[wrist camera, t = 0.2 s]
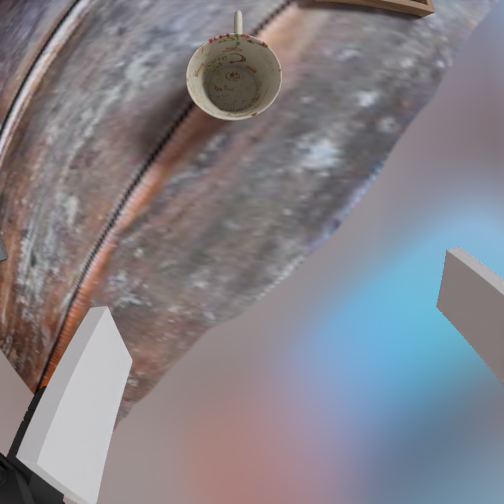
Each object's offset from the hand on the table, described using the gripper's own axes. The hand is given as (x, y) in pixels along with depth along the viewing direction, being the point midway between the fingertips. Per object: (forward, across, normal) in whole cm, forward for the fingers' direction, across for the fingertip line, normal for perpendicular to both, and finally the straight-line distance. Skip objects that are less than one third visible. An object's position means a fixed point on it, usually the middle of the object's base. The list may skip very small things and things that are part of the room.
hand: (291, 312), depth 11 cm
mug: (+28, 0, +13) cm, 31 cm away
